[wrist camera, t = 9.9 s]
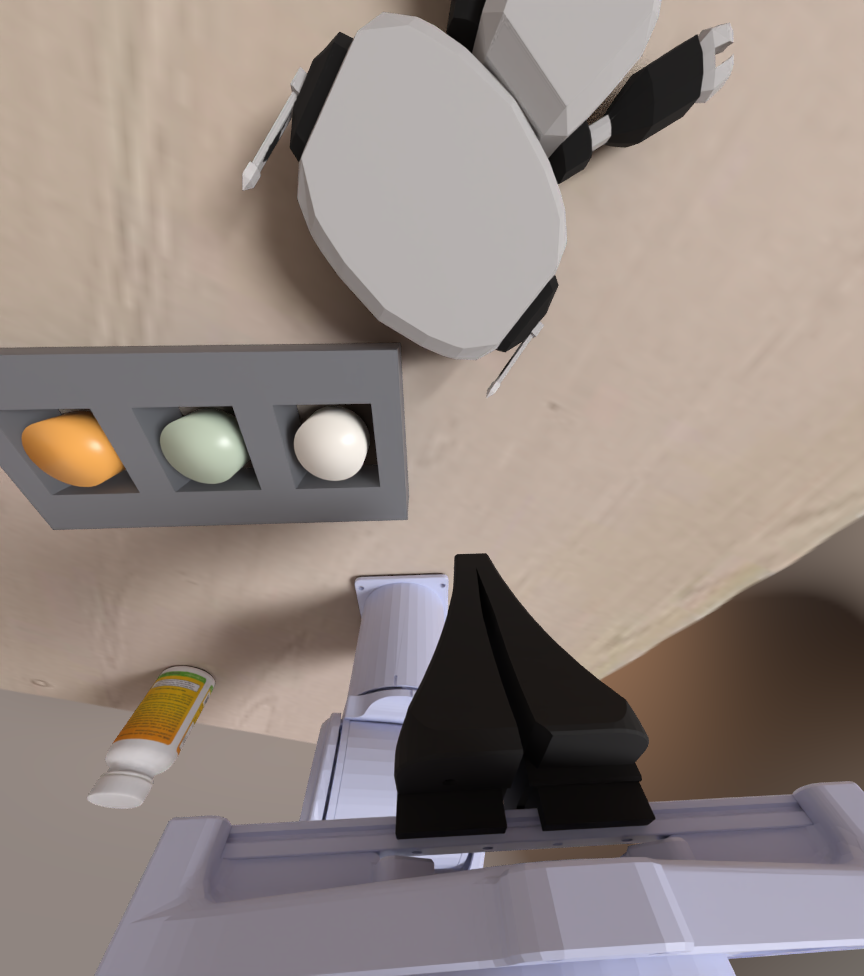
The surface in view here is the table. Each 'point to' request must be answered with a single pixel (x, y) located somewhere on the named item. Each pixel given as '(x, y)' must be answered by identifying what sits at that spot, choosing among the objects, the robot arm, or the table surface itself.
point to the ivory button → (332, 443)
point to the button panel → (195, 383)
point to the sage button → (205, 445)
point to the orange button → (72, 449)
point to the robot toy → (473, 153)
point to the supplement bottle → (152, 737)
